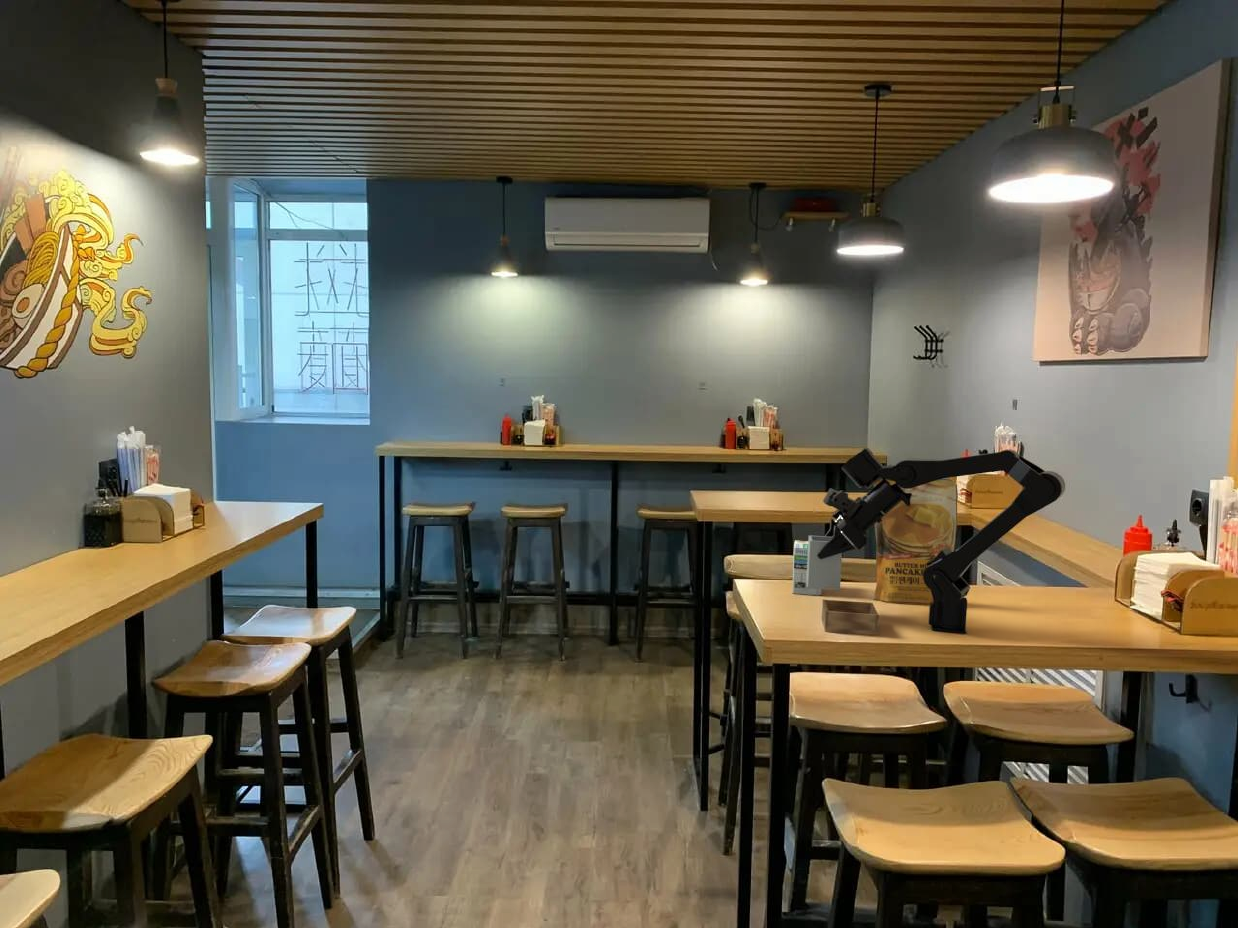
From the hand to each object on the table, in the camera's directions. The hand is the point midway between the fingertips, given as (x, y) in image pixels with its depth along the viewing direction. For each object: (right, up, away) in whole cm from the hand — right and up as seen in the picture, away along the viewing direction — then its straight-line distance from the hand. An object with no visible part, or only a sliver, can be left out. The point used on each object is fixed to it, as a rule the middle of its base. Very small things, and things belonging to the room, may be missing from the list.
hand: (817, 554), depth 188 cm
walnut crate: (+4, -13, -9) cm, 17 cm away
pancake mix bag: (+24, -12, +14) cm, 30 cm away
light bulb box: (+2, -11, +21) cm, 24 cm away
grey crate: (+1, -7, 0) cm, 7 cm away
